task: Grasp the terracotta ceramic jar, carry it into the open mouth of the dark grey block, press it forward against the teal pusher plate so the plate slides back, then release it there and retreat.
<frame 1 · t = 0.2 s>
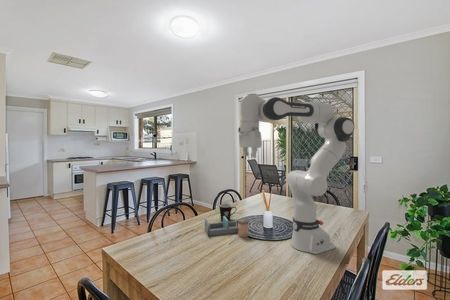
hand: (249, 156, 105), 47 cm above the table, fingers open, 8 cm apart
coffee mug: (227, 220, 153), on the table
jar: (243, 235, 127), on the table
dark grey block: (222, 230, 134), on the table
pusher: (225, 223, 135), point 4 cm above the table, slide at 0.0 cm
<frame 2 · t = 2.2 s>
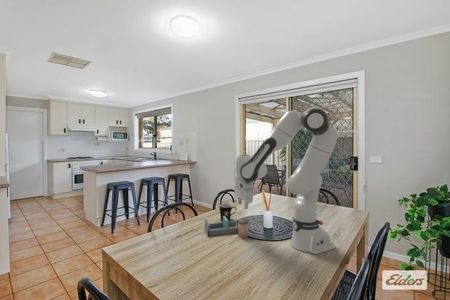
hand: (242, 206, 127), 17 cm above the table, fingers open, 8 cm apart
nothing on the table moved.
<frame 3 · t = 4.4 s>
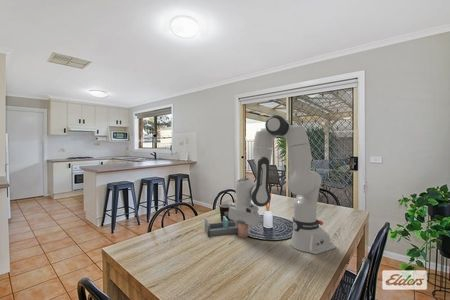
hand: (243, 229, 127), 3 cm above the table, fingers closed on jar, 6 cm apart
jar: (243, 235, 127), on the table, touching gripper
everything else where it was.
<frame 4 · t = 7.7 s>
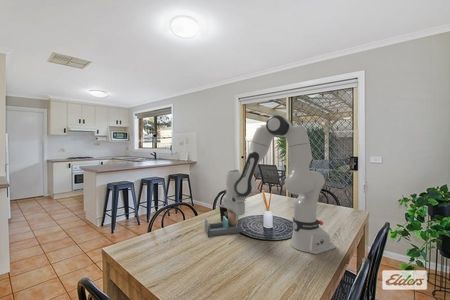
hand: (233, 217, 136), 7 cm above the table, fingers closed on jar, 6 cm apart
jar: (233, 223, 136), point 4 cm above the table, touching gripper
everything else where it was.
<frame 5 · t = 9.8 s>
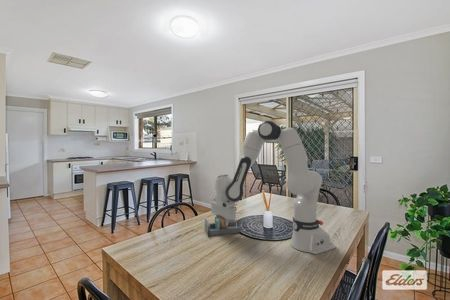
hand: (222, 223, 134), 4 cm above the table, fingers closed on jar, 6 cm apart
jar: (222, 229, 135), point 1 cm above the table, touching gripper, pusher
pusher: (217, 224, 133), point 4 cm above the table, slide at 5.2 cm, touching gripper, jar
everything else where it was.
when the fingers open (4 cm above the table, at t = 11.2 s): jar stays where it is, resting on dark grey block.
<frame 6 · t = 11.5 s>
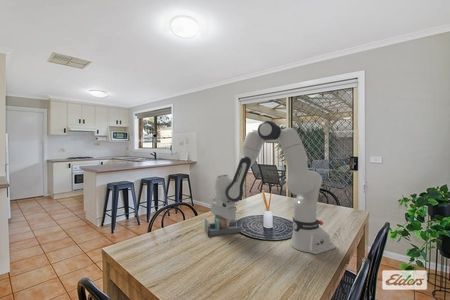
hand: (222, 223, 134), 4 cm above the table, fingers open, 8 cm apart
jar: (222, 229, 135), resting on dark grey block
pusher: (216, 224, 133), point 4 cm above the table, slide at 5.4 cm, touching gripper
everything else where it was.
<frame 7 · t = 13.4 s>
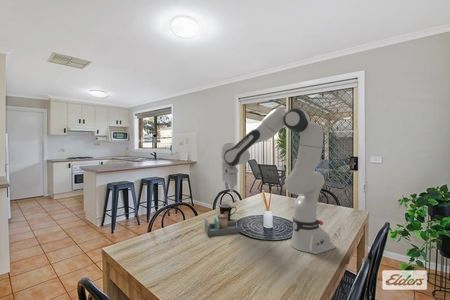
hand: (229, 190, 138), 24 cm above the table, fingers open, 8 cm apart
pusher: (216, 224, 133), point 4 cm above the table, slide at 5.5 cm
everything else where it was.
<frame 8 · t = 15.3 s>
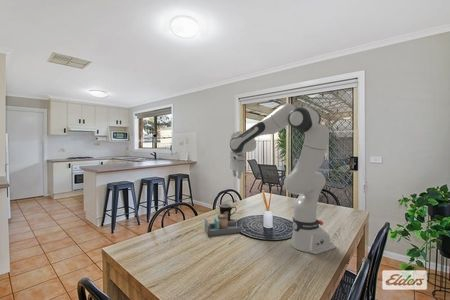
hand: (236, 177, 144), 31 cm above the table, fingers open, 8 cm apart
nothing on the table moved.
at the end: pusher slide at 5.5 cm; jar inside the target area (0.8 cm from its centre), resting on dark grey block; jar tilted 0° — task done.
